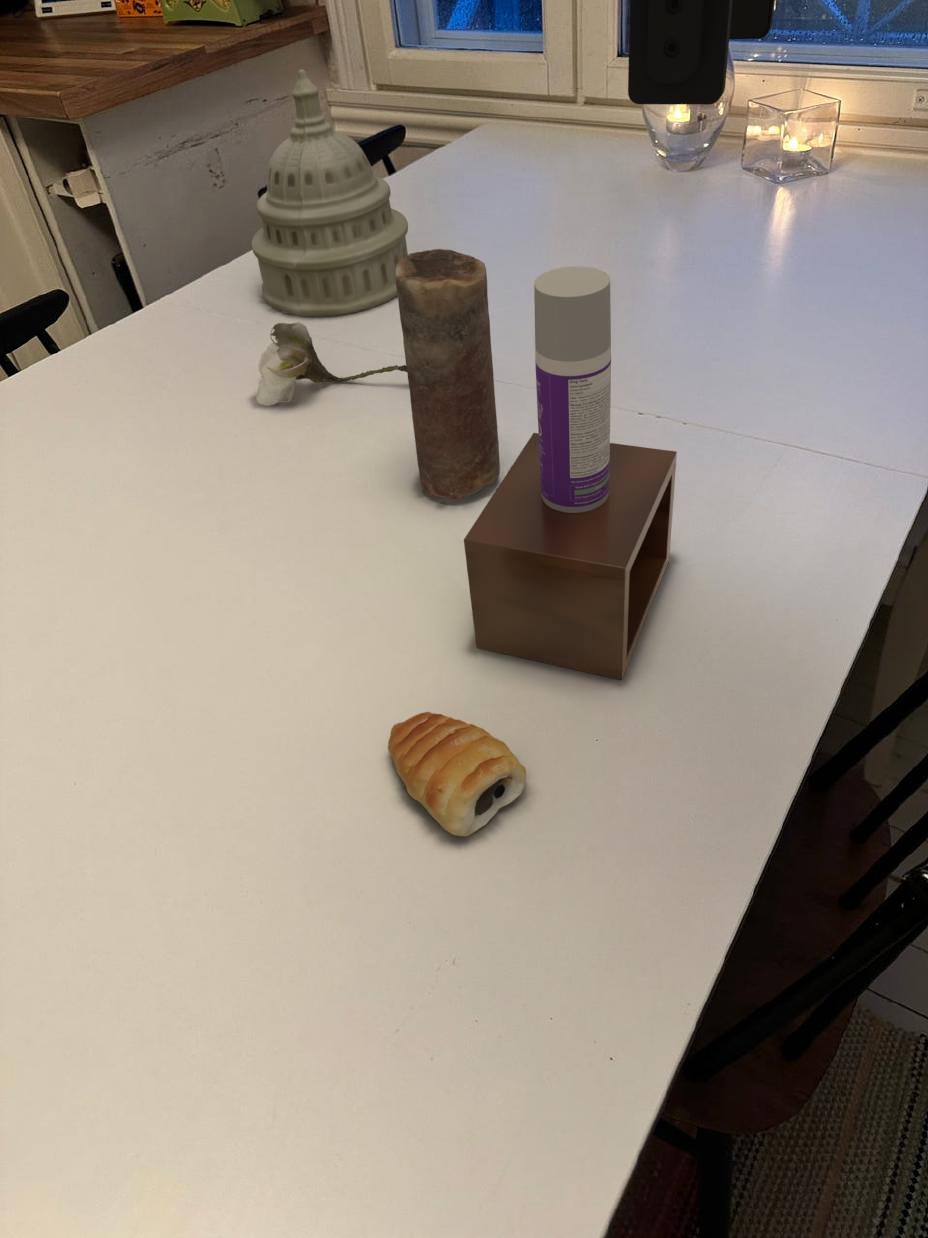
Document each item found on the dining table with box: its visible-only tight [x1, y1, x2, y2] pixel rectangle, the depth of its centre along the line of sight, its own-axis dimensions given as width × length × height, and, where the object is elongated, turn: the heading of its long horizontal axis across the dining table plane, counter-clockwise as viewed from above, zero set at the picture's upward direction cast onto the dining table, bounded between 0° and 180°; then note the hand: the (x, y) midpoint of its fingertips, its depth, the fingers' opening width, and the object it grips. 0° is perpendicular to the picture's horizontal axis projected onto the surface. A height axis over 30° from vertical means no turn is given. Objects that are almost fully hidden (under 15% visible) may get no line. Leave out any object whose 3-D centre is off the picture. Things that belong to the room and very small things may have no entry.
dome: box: [251, 69, 409, 317], centre depth 114 cm, size 20×25×20 cm
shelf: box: [463, 432, 678, 680], centre depth 68 cm, size 11×14×10 cm
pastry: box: [387, 711, 527, 838], centre depth 58 cm, size 9×7×4 cm
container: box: [533, 265, 612, 513], centre depth 59 cm, size 5×5×15 cm
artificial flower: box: [255, 322, 407, 407], centre depth 97 cm, size 9×22×10 cm, turn 78°
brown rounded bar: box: [395, 248, 501, 500], centre depth 78 cm, size 8×7×20 cm
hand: (705, 66), depth 35 cm, fingers open, 9 cm apart
